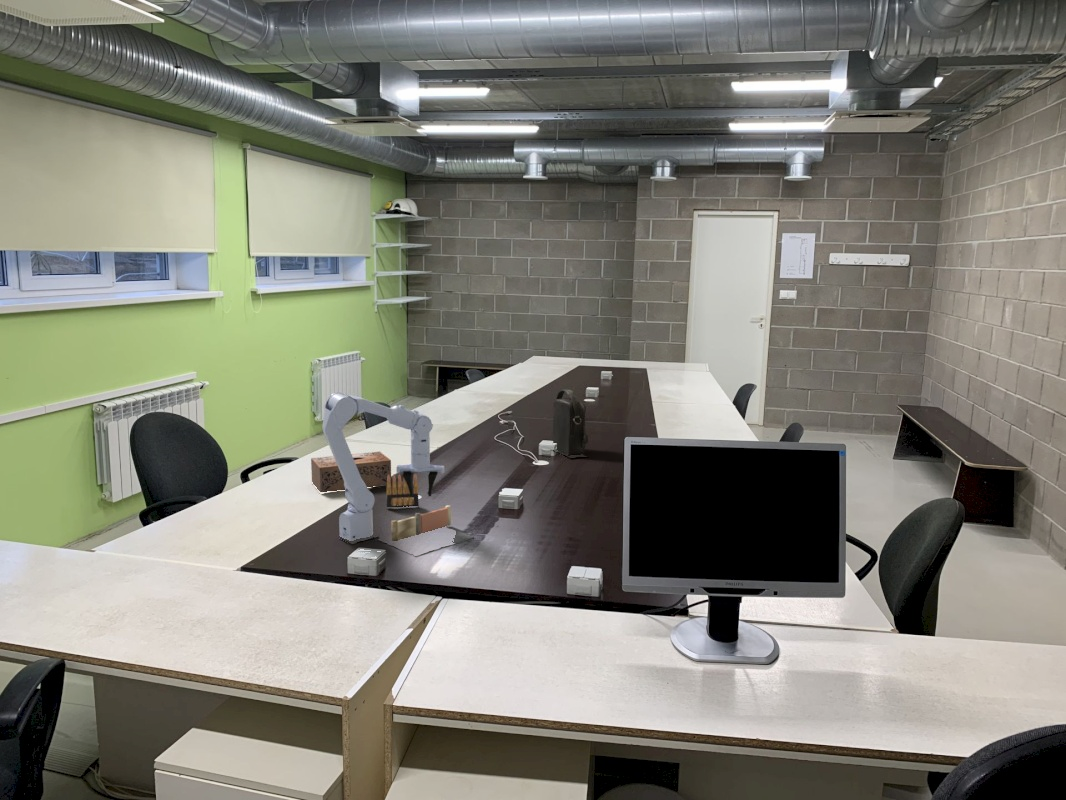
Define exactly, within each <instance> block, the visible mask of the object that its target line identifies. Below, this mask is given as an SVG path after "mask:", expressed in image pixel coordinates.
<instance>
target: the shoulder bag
mask: <svg viewBox="0 0 1066 800" xmlns="http://www.w3.org/2000/svg"><path fill="white" fill-rule="evenodd" d="M565 393H566V394H567V396H568V397H569V398H567V397H565V398H563V397H564V395H565ZM586 408H587V407H586V405H585V403H582V402H580V401H579V400H578V398H577V396H576V394H575V393H574V391H573V390H571V389H566V388H564V389H561V390H559V392H558V393H557V394H556V399H555V400H554V401H553V408H552V410H553V411H552V413H553V414H552V415H553V417H552V418H553V419H552V444H553V443H557V450H558V451H559V452H561V453H563V454H565V455H568V456H570V455H581V454H584V453H585V448H586V444H588V442H589V437H588V436H589V435H588V431H587V428H586V411H587V409H586ZM584 455H585V454H584Z"/></svg>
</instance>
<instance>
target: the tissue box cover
mask: <svg viewBox="0 0 1066 800" xmlns="http://www.w3.org/2000/svg"><path fill="white" fill-rule="evenodd" d="M351 454H352V457H353V459H354V462H355V464H356V466H357V469H358V471H359V474H360V476H361V478H362V480H363V481H364V483H365V485H366V486H367V487H373V486H380V485H387V477H388V474H389V475H390V479H391V480H392V461H391V459H390V458H388V456H386V455H385V454H383V452H381V451H371V452H361V453H351ZM310 465H311V466H310V469H311V483H312V482H313V484H314V485H315V486H316V487H317V489H318V490H319V491H320V492H327V491H337V490H345V486H344V480H343V477H342V475H341V473H340V470H339V468H338V465H337V463H336V461H335V458H334V456H333V455H330V456H320V457H311V458H310ZM313 484H312V485H313ZM317 489H316V490H317Z"/></svg>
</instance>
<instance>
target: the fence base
mask: <svg viewBox="0 0 1066 800" xmlns="http://www.w3.org/2000/svg"><path fill="white" fill-rule="evenodd" d="M420 514H421V513H420V512H415V513H414V516H411V517H406V518H402V519H400V520H395V519H393V520H391V521H390V524H391V535H392V541H398V540H400V539H404V538H408V537H411V536H415V535H419V534H421V518H420Z"/></svg>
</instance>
